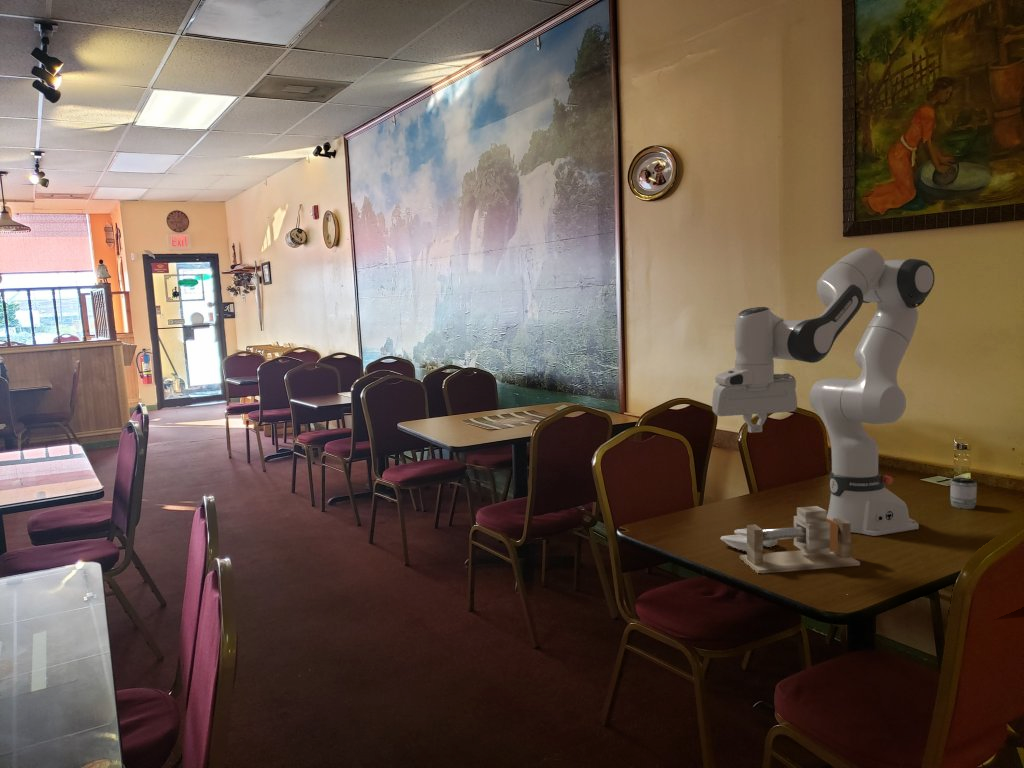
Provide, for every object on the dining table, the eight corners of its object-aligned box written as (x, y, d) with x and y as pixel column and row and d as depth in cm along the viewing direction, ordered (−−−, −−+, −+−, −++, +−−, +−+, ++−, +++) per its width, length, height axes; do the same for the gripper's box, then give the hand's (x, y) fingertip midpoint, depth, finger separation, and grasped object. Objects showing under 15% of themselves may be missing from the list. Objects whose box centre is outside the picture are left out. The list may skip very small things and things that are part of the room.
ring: (822, 542, 171) (822, 515, 170) (837, 551, 164) (837, 523, 164) (814, 542, 171) (814, 516, 170) (829, 551, 164) (829, 524, 164)
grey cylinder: (981, 509, 201) (982, 481, 200) (958, 509, 201) (959, 482, 200) (967, 503, 207) (968, 476, 207) (945, 503, 208) (945, 477, 207)
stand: (835, 550, 173) (835, 514, 172) (860, 565, 163) (860, 526, 163) (739, 558, 171) (739, 521, 170) (758, 573, 161) (758, 534, 160)
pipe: (834, 533, 169) (834, 522, 169) (840, 536, 166) (840, 525, 166) (756, 539, 167) (756, 528, 167) (761, 542, 164) (761, 531, 164)
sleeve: (813, 543, 171) (814, 504, 170) (829, 553, 164) (830, 512, 163) (793, 545, 170) (793, 505, 169) (808, 555, 164) (809, 514, 163)
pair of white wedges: (782, 547, 178) (746, 537, 187) (782, 530, 178) (745, 521, 187) (750, 558, 172) (714, 547, 181) (750, 541, 171) (714, 530, 181)
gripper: (789, 371, 178) (789, 427, 179) (709, 376, 176) (710, 432, 177) (802, 374, 172) (802, 431, 173) (719, 379, 170) (720, 437, 171)
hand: (755, 432), depth 175 cm, fingers closed
